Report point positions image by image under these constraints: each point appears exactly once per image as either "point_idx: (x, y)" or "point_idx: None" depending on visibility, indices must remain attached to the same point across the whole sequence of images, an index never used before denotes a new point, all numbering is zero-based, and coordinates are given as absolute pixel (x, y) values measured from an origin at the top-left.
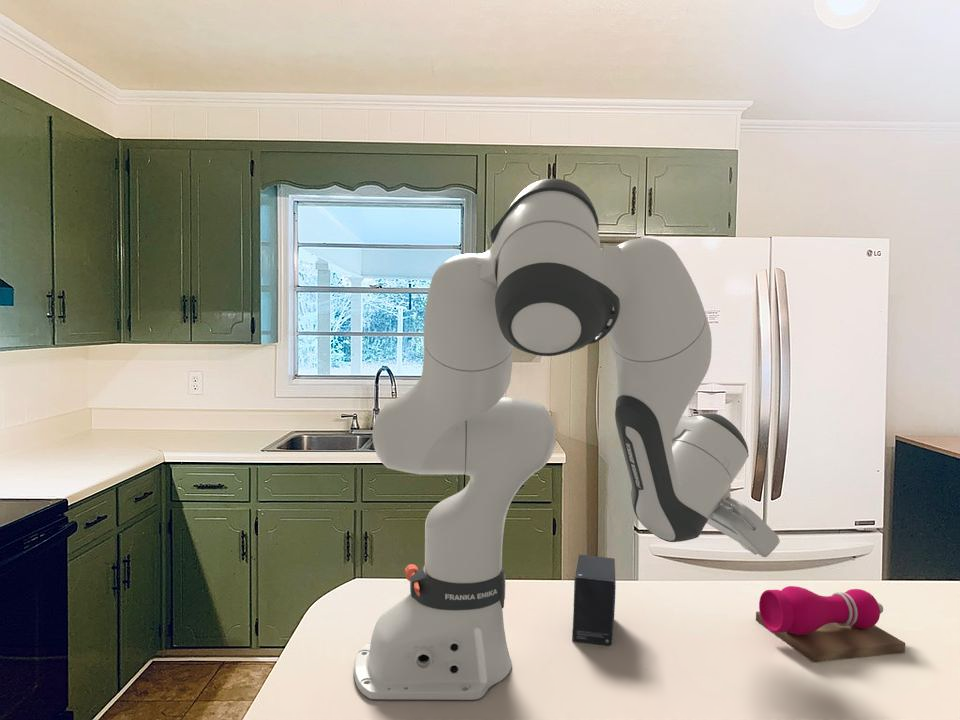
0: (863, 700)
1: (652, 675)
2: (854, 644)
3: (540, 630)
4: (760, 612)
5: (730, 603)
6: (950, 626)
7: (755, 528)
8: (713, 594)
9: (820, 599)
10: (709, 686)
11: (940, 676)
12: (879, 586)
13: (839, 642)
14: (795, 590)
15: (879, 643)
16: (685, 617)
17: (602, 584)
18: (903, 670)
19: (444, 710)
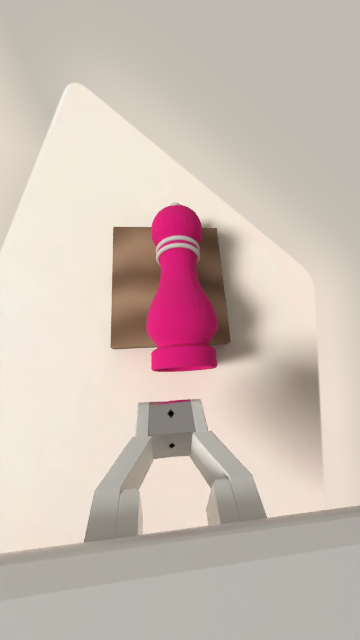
0: (299, 341)
1: None
2: (215, 281)
3: None
4: (158, 371)
5: (52, 354)
6: (167, 155)
7: (301, 513)
8: (13, 364)
9: (198, 289)
10: (273, 515)
11: (258, 238)
12: (59, 143)
13: (209, 295)
14: (192, 323)
15: (215, 254)
16: (79, 455)
17: None
18: (246, 262)
19: None
